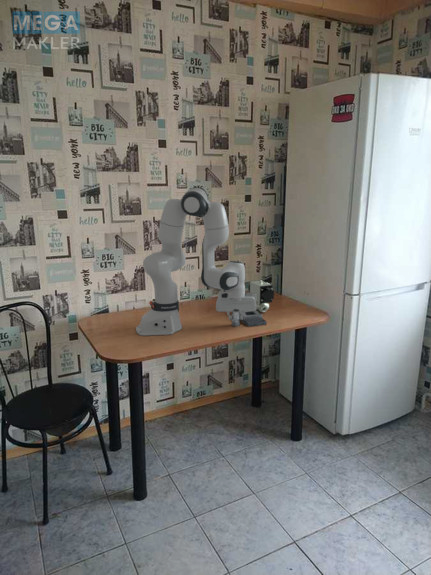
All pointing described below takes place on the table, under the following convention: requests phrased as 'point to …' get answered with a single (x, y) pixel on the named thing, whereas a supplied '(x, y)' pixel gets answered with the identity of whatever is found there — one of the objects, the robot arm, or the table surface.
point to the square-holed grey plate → (253, 318)
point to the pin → (236, 318)
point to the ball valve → (262, 294)
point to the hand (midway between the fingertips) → (235, 319)
